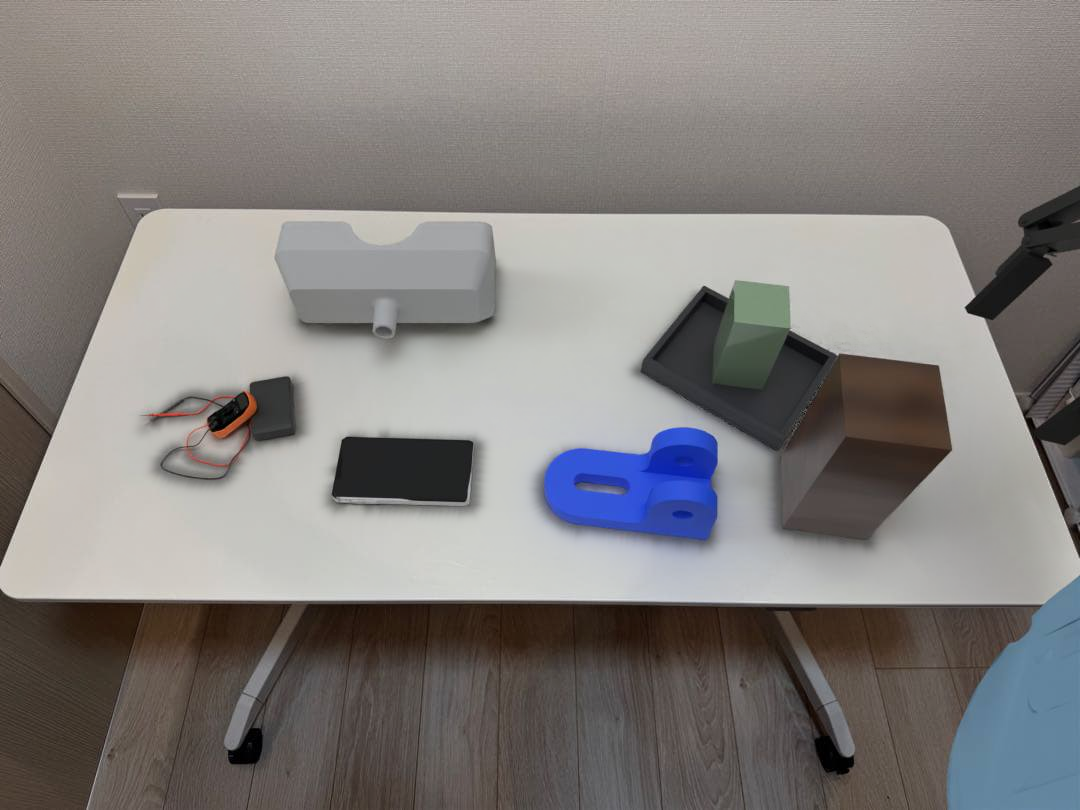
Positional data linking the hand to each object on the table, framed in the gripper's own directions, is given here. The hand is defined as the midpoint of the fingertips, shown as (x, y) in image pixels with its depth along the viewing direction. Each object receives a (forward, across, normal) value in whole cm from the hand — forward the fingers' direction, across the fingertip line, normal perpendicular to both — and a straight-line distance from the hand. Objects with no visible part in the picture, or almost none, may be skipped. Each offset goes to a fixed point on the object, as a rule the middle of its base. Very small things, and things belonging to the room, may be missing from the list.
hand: (1010, 372), depth 62 cm
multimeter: (+48, +14, +63) cm, 80 cm away
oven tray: (+27, +22, +5) cm, 35 cm away
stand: (+27, +5, -2) cm, 27 cm away
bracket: (+34, +6, +19) cm, 39 cm away
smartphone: (+41, +9, +42) cm, 60 cm away
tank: (+39, +32, +46) cm, 68 cm away
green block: (+26, +22, +5) cm, 35 cm away
